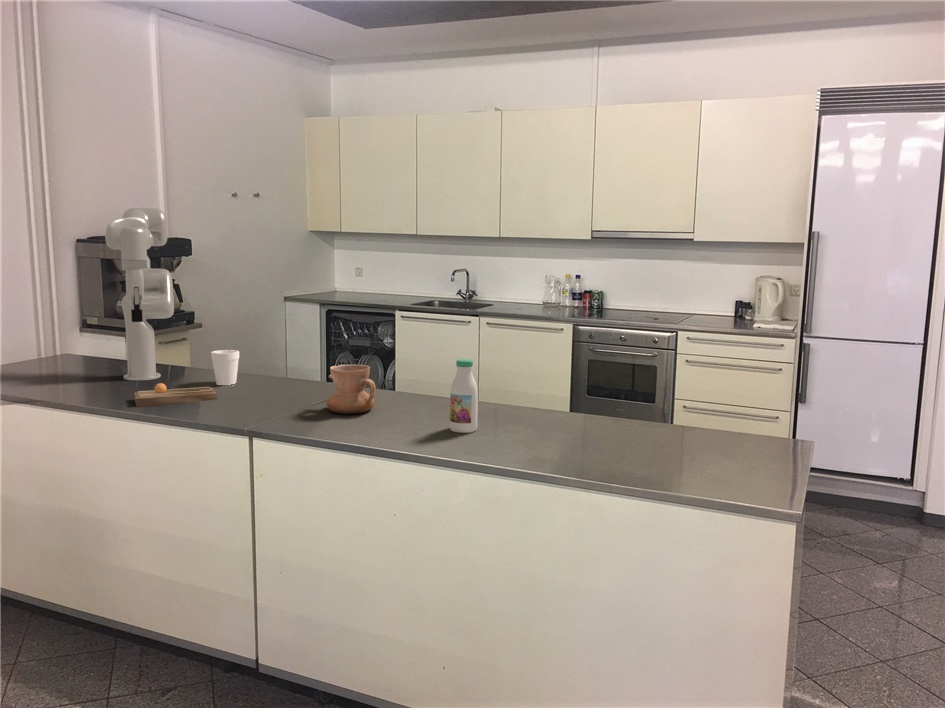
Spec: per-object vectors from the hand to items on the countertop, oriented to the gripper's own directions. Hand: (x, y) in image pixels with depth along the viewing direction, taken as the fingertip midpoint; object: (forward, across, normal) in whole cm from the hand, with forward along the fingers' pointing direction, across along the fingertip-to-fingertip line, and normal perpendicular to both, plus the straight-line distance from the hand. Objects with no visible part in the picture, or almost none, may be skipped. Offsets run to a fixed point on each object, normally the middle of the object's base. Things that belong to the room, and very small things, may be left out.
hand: (137, 321), depth 239 cm
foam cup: (+25, -6, +28) cm, 39 cm away
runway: (+25, +11, +10) cm, 29 cm away
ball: (+21, +12, +5) cm, 25 cm away
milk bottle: (+25, +84, +79) cm, 118 cm away
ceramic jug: (+25, +50, +57) cm, 80 cm away
